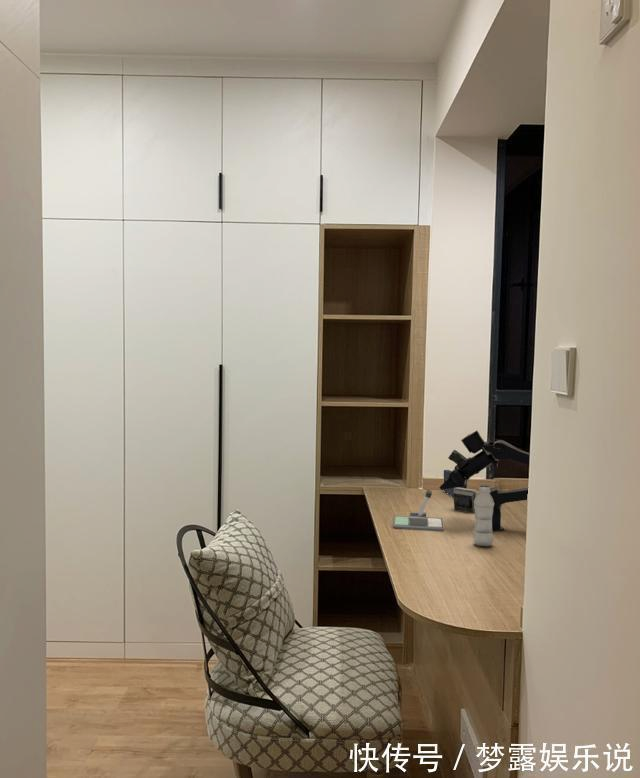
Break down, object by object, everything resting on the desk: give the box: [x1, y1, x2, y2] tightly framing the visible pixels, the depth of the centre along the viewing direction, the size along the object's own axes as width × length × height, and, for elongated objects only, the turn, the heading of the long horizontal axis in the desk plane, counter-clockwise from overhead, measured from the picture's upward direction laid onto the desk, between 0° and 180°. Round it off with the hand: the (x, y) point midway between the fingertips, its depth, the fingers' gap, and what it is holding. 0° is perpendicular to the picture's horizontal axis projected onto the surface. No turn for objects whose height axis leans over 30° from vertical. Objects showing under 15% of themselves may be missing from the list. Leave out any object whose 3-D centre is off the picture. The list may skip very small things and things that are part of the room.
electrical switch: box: [452, 487, 478, 514], centre depth 248 cm, size 9×5×9 cm, turn 57°
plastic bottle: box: [472, 484, 494, 547], centre depth 206 cm, size 6×7×20 cm
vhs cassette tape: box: [442, 469, 468, 498], centre depth 271 cm, size 18×3×10 cm, turn 12°
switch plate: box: [392, 510, 445, 532], centre depth 230 cm, size 18×14×4 cm
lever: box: [417, 489, 433, 517], centre depth 229 cm, size 2×4×12 cm, turn 172°
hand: (442, 485), depth 231 cm, fingers open, 9 cm apart
